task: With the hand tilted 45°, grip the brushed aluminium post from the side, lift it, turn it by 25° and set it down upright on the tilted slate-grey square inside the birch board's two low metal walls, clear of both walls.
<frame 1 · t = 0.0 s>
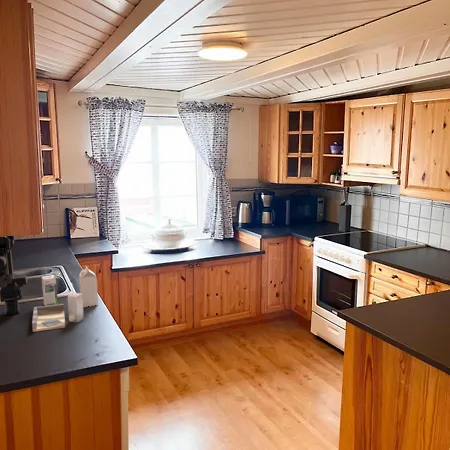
hand: (3, 302, 187), 15 cm above the worktop, tool pointing down, fingers open, 9 cm apart
aluminium post: (76, 320, 206), on the worktop
syrup box: (50, 305, 225), on the worktop
milk carton: (89, 304, 226), on the worktop
corner arena: (49, 321, 205), on the worktop
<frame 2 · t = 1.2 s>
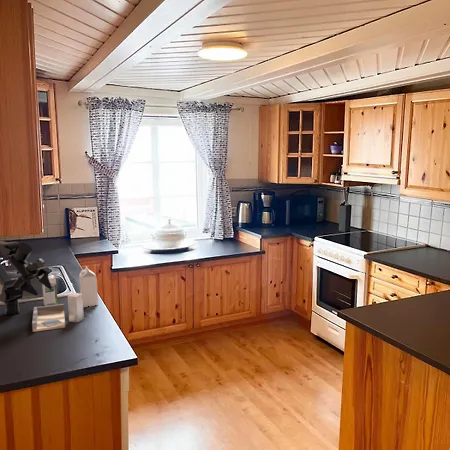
hand: (44, 291, 204), 13 cm above the worktop, tool tilted 45°, fingers open, 9 cm apart
nothing on the worktop moved.
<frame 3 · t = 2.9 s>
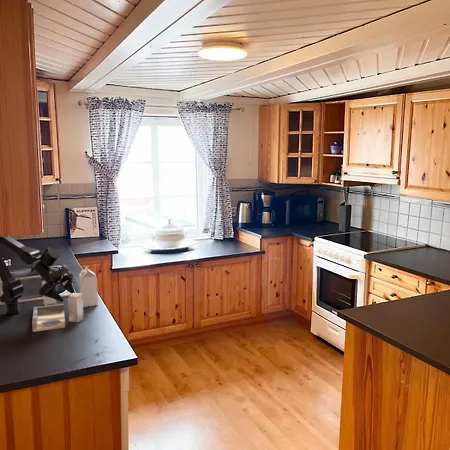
hand: (69, 297, 205), 10 cm above the worktop, tool tilted 45°, fingers open, 9 cm apart
nothing on the worktop moved.
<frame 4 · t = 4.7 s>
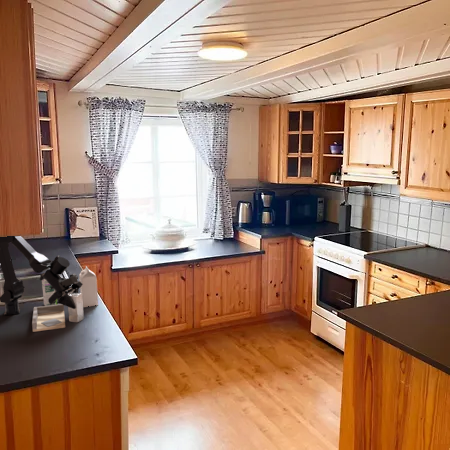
hand: (78, 306, 204), 7 cm above the worktop, tool tilted 45°, fingers closed on aluminium post, 4 cm apart
aluminium post: (76, 320, 206), on the worktop, touching gripper
everything else where it was.
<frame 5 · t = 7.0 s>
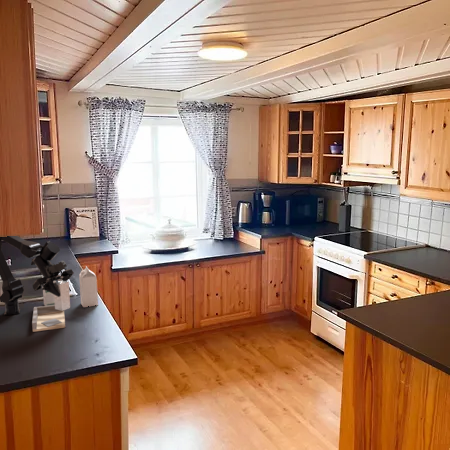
hand: (63, 294, 200), 13 cm above the worktop, tool tilted 45°, fingers closed on aluminium post, 4 cm apart
aluminium post: (62, 308, 202), point 7 cm above the worktop, touching gripper
everything else where it was.
when the fingers open (8 cm above the worktop, at t = 9.3 s): aluminium post stays where it is, resting on corner arena.
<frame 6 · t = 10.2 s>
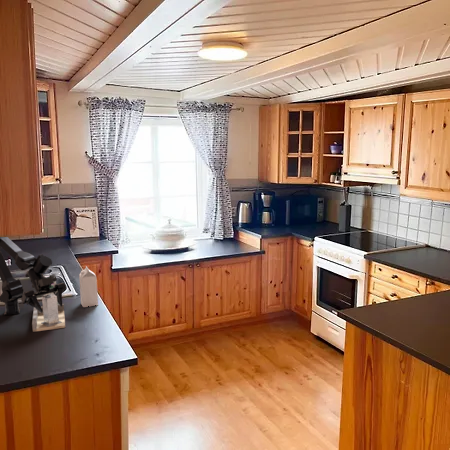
hand: (52, 308, 198), 8 cm above the worktop, tool tilted 45°, fingers open, 9 cm apart
aluminium post: (51, 322, 200), point 1 cm above the worktop, touching corner arena
everything else where it was.
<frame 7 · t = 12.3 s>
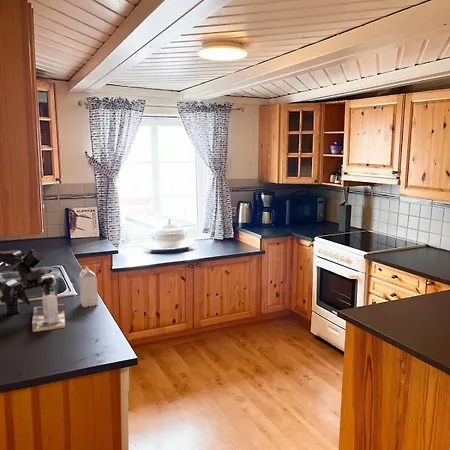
hand: (39, 302, 204), 9 cm above the worktop, tool tilted 45°, fingers open, 9 cm apart
nothing on the worktop moved.
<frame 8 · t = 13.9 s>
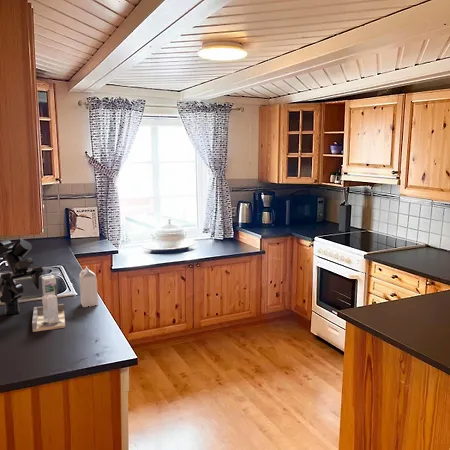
hand: (28, 291, 204), 14 cm above the worktop, tool tilted 45°, fingers open, 9 cm apart
nothing on the worktop moved.
at the end: aluminium post 0.1 cm from the target spot, point 1.2 cm above the worktop; aluminium post tilted 0°; the gripper is holding nothing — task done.
